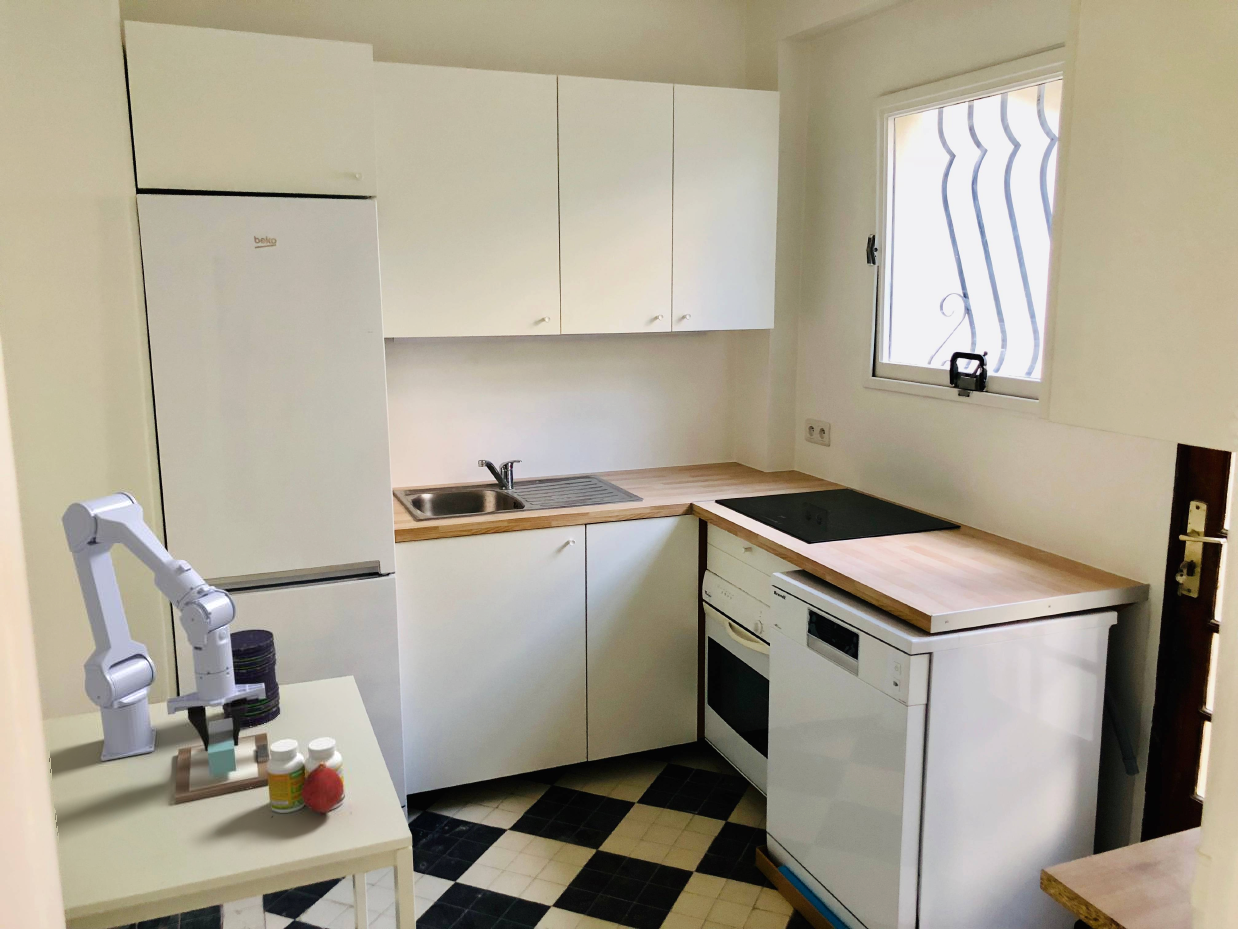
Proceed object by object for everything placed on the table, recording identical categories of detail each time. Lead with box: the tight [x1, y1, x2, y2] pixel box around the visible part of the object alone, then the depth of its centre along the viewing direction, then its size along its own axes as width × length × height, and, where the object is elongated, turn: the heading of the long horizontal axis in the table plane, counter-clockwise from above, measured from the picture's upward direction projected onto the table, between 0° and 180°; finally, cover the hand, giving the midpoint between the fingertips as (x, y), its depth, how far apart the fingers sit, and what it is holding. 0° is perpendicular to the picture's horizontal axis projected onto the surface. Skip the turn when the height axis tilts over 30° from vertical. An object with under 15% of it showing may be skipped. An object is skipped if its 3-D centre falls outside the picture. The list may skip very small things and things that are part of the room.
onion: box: [302, 762, 343, 814], centre depth 140 cm, size 6×6×8 cm
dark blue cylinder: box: [221, 628, 281, 729], centre depth 173 cm, size 10×10×15 cm
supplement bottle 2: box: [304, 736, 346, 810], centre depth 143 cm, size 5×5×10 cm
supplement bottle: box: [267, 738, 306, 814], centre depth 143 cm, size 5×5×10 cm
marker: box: [208, 718, 236, 776], centre depth 155 cm, size 14×4×4 cm, turn 23°
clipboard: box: [174, 732, 271, 804], centre depth 155 cm, size 17×14×2 cm
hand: (221, 746), depth 154 cm, fingers closed on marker, 4 cm apart
